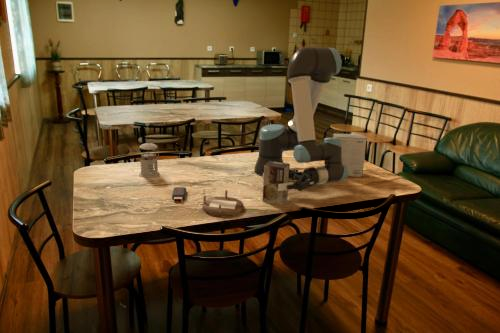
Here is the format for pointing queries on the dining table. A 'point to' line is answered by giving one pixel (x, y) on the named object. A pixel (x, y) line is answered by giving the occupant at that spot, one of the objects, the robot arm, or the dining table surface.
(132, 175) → the dining table surface
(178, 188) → the usb drive
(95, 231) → the dining table surface
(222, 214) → the pin nest
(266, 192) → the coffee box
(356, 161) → the hard drive box
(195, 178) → the dining table surface
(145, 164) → the french press
